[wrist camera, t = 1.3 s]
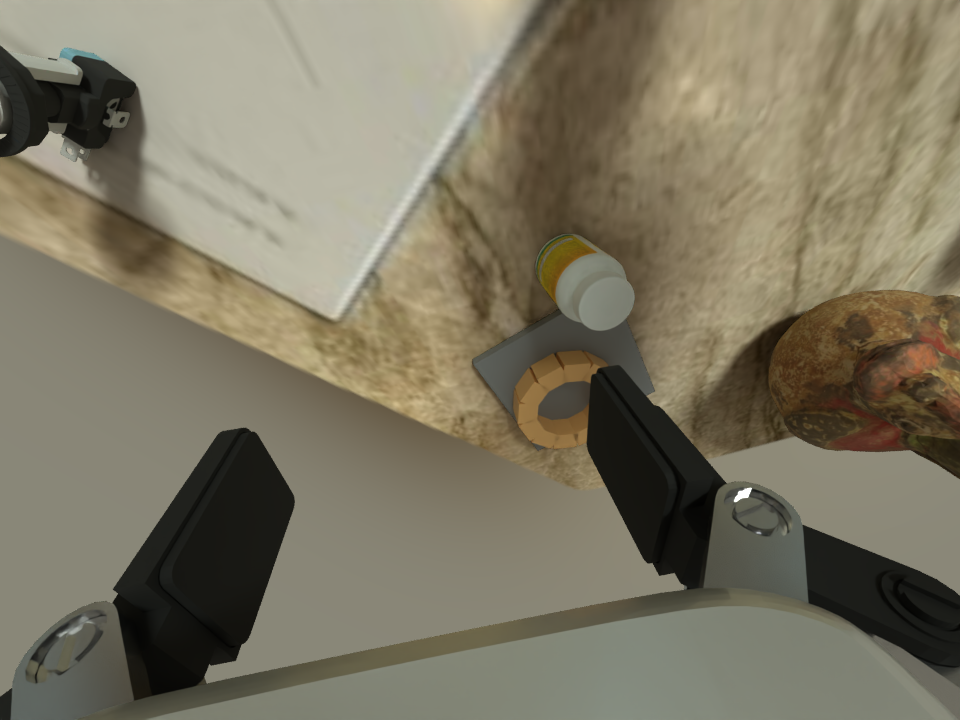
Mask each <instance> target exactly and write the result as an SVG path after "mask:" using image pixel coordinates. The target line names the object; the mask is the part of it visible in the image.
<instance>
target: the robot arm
mask: <svg viewBox="0 0 960 720" xmlns="http://www.w3.org/2000/svg"><path fill="white" fill-rule="evenodd" d="M587 448H588V452H589V454H590V456H591V458H592V460H593V462H594V464H595V466H596V468H597V470H598V472H599V474H600V476H601V478H602V479H603V481H604V483H605V485H606V487H607V489H608V491H609V493H610V495H611V497H612V499H613V500H614V503H615V505H616V506H617V508H618V510H619V512H620V514H621V516H622V518H623V520H624V522H625V524H626V526H627V528H628V530H629V532H630V534H631V536H632V538H633V540H634V542H635V543H636V545H637V547H638V549H639V551H640V553H641V555H642V557H643V559H644V560H645V561H646V562H647V563H653V565H654V567H655V568H656V571H657V572H658V574H659V576H661V575H666V574H671V573H675V574H676V576H677V578H678V580H679V581H680V583H681V584H683V585H685V586H684V590H681V591H673V592H665V593H658V594H652V595H647V596H641V597H635V598H630V599H624V600H618V601H613V602H608V603H602V604H596V605H590V606H586V607H580V608H575V609H570V610H565V611H560V612H555V613H550V614H545V615H540V616H535V617H530V618H524V619H519V620H514V621H509V622H504V623H499V624H495V625H489V626H484V627H479V628H474V629H469V630H464V631H459V632H455V633H449V634H444V635H440V636H435V637H429V638H424V639H420V640H414V641H410V642H405V643H400V644H395V645H390V646H385V647H381V648H376V649H370V650H365V651H360V652H356V653H350V654H346V655H341V656H337V657H331V658H326V659H321V660H317V661H312V662H307V663H302V664H297V665H293V666H288V667H283V668H278V669H274V670H269V671H264V672H259V673H254V674H249V675H245V676H240V677H235V678H230V679H226V680H221V681H216V682H212V683H208V684H207V683H206V680H205V678H204V676H205V673H206V671H207V668H208V666H209V664H210V665H217V664H222V663H227V662H232V661H236V658H237V656H238V653H239V650H240V647H241V645H242V644H244V643H245V642H246V641H247V640H248V638H249V636H250V634H251V631H252V628H253V625H254V622H255V619H256V616H257V613H258V610H259V607H260V605H261V602H262V599H263V596H264V593H265V590H266V587H267V584H268V581H269V578H270V576H271V573H272V570H273V567H274V564H275V561H276V558H277V555H278V552H279V549H280V546H281V543H282V541H283V538H284V535H285V532H286V529H287V526H288V523H289V520H290V517H291V515H292V512H293V508H294V503H295V500H294V495H293V493H292V492H291V490H290V488H289V486H288V485H287V483H286V481H285V480H284V478H283V476H282V475H281V473H280V471H279V470H278V468H277V466H276V465H275V463H274V461H273V460H272V458H271V456H270V455H269V453H268V451H267V450H266V448H265V446H264V445H263V443H262V441H261V440H260V438H259V436H258V435H257V433H255V432H251V431H250V430H249V429H247V428H239V429H234V430H227V431H222V432H220V433H219V434H218V435H217V436H216V438H215V439H214V441H213V443H212V444H211V445H210V447H209V448H208V450H207V451H206V453H205V454H204V456H203V457H202V459H201V460H200V462H199V463H198V465H197V466H196V467H195V469H194V471H193V472H192V473H191V475H190V476H189V478H188V479H187V481H186V482H185V484H184V485H183V487H182V488H181V490H180V491H179V492H178V494H177V495H176V497H175V498H174V500H173V501H172V503H171V504H170V506H169V507H168V509H167V510H166V512H165V513H164V515H163V516H162V518H161V519H160V521H159V522H158V524H157V525H156V526H155V528H154V529H153V531H152V532H151V534H150V535H149V537H148V538H147V540H146V541H145V543H144V544H143V546H142V547H141V549H140V550H139V552H138V553H137V554H136V556H135V558H134V559H133V560H132V562H131V563H130V565H129V566H128V568H127V569H126V571H125V572H124V574H123V575H122V577H121V578H120V580H119V581H118V582H117V584H116V586H115V587H114V589H113V590H114V591H116V592H117V593H118V595H117V596H116V598H115V600H114V601H113V603H110V602H107V601H101V602H94V603H91V604H89V605H86V606H83V607H81V608H79V609H77V610H75V611H74V612H72V613H70V614H68V615H67V616H65V617H64V618H62V619H61V620H60V621H58V622H57V623H56V624H54V625H53V626H52V627H51V628H50V629H48V630H47V631H46V632H45V633H44V634H43V635H42V636H41V637H40V638H39V639H38V640H37V641H36V642H35V643H34V644H33V646H32V647H31V648H30V649H29V650H28V652H27V653H26V654H25V655H24V657H23V659H22V660H21V662H20V664H19V666H18V667H17V669H16V672H15V675H14V679H13V685H12V688H11V689H10V690H9V691H8V692H6V693H5V694H3V695H2V696H1V697H0V720H960V596H959V595H958V594H957V593H956V592H955V591H954V590H952V589H950V588H949V587H947V586H946V585H944V584H943V583H941V582H940V581H938V580H937V579H934V578H933V577H930V576H928V575H926V574H924V573H922V572H920V571H918V570H915V569H913V568H910V567H908V566H905V565H903V564H900V563H898V562H895V561H893V560H890V559H888V558H885V557H882V556H880V555H877V554H875V553H872V552H870V551H868V550H865V549H862V548H860V547H857V546H855V545H852V544H850V543H847V542H845V541H842V540H840V539H837V538H835V537H832V536H830V535H827V534H825V533H822V532H820V531H817V530H815V529H812V528H809V527H807V526H804V525H802V522H801V519H800V516H799V515H798V513H797V512H796V510H795V509H794V507H793V506H792V505H791V504H790V503H789V502H787V501H786V500H785V499H784V498H783V497H782V496H780V495H778V494H777V493H775V492H774V491H772V490H770V489H768V488H765V487H763V486H760V485H758V484H753V483H749V482H731V483H728V484H727V483H726V482H725V481H724V480H723V479H722V478H721V476H720V475H719V474H718V473H717V472H716V471H715V470H714V468H713V467H712V466H711V465H710V464H709V463H708V461H707V460H706V459H705V458H704V457H703V455H702V454H701V453H700V452H699V451H698V450H697V449H696V447H695V446H694V445H693V444H692V443H691V442H690V440H689V439H688V438H687V437H686V436H685V435H684V433H683V432H682V431H681V430H680V429H679V428H678V426H677V425H676V424H675V423H674V422H673V421H672V420H671V418H670V417H669V416H668V415H667V414H666V413H665V411H664V410H663V409H661V408H660V407H659V406H656V405H655V406H654V405H653V404H652V402H651V401H650V400H649V399H648V398H647V397H646V395H645V394H644V393H643V392H642V391H641V389H640V388H639V387H638V386H637V385H636V383H635V382H634V381H633V380H632V379H631V378H630V376H629V375H628V374H627V373H626V372H625V370H624V369H623V368H622V367H621V366H620V365H613V366H607V367H601V368H598V369H597V372H596V374H592V376H591V382H590V397H589V413H588V428H587Z"/></svg>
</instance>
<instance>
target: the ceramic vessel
mask: <svg viewBox="0 0 960 720" xmlns="http://www.w3.org/2000/svg"><path fill="white" fill-rule="evenodd" d="M768 382H769V389H770V392H771V395H772V397H773V399H774V402H775V404H776V406H777V407H778V409H779V411H780V413H781V414H782V416H783V418H784V423H785V425H786V426H787V428H788V430H789V431H790V432H791V433H792V434H794V435H795V436H796V437H798V438H800V439H802V440H804V441H805V442H807V443H809V444H812V445H814V446H817V447H820V448H823V449H827V450H835V451H841V450H851V451H865V452H886V451H903V450H911V451H913V452H915V453H916V454H918V455H920V456H922V457H924V458H926V459H928V460H930V461H932V462H934V463H936V464H937V465H939V466H941V467H942V468H944V469H945V470H947V471H948V472H950V473H951V474H953V475H954V476H956V477H957V478H959V479H960V297H958V296H954V295H943V296H938V297H935V296H928V295H924V294H920V293H916V292H909V291H901V290H880V291H867V292H859V293H854V294H849V295H844V296H841V297H838V298H834V299H831V300H828V301H826V302H823V303H821V304H820V305H818V306H816V307H814V308H812V309H811V310H809V311H808V312H806V313H805V314H804V315H802V316H801V317H800V318H799V319H798V320H797V321H796V322H795V323H793V324H792V326H791V327H790V328H789V329H788V330H787V331H786V332H785V333H784V335H783V336H782V337H781V338H780V340H779V341H778V343H777V344H776V346H775V348H774V350H773V353H772V355H771V360H770V367H769V380H768Z"/></svg>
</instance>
